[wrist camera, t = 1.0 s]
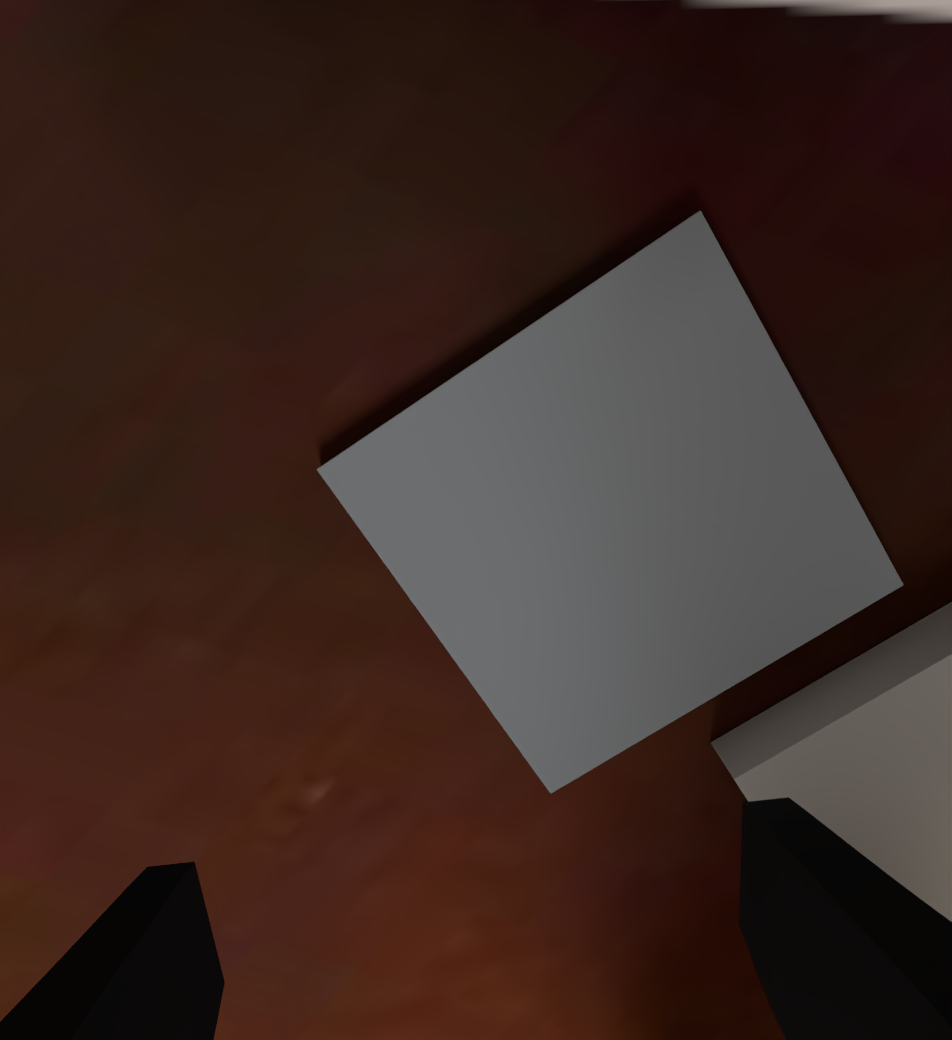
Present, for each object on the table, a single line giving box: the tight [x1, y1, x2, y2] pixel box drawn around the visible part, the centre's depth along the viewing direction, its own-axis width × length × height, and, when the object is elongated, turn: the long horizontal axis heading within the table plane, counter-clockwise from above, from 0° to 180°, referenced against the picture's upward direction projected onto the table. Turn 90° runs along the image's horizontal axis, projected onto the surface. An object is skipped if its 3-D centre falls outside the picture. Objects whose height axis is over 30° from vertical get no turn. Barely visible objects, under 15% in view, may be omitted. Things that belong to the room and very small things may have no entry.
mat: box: [317, 211, 903, 793], centre depth 19 cm, size 11×11×1 cm
